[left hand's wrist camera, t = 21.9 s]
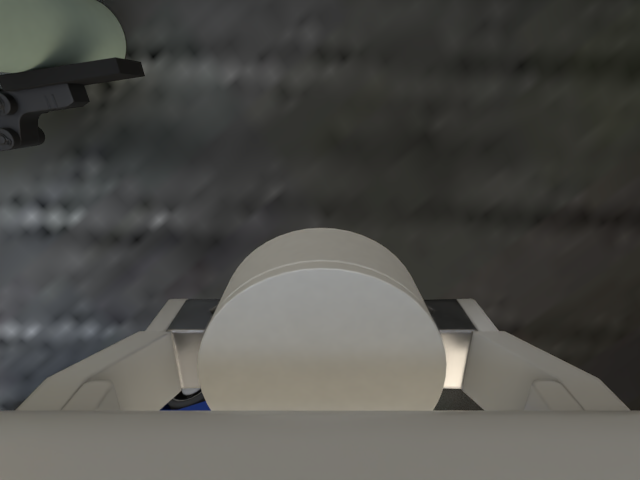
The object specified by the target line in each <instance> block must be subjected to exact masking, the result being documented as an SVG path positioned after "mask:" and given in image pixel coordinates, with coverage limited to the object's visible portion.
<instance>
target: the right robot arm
mask: <svg viewBox="0 0 640 480" xmlns="http://www.w3.org/2000/svg"><path fill="white" fill-rule="evenodd" d="M142 76H145V75H144V72H143V68H142V65H141V62H138V61H132V60H127V59H122V58H117V57H114V58H108V59H101V60H95V61H88V62H82V63H75V64H69V65H63V66H56V67H50V68H43V69H37V70H30V71H24V72H18V73H11V74H5V75H0V84H1V86H2V88H3V89H1V88H0V151H4V150H11V149H17V148H23V147H29V146H35V145H40V144H42V143H43V142H44V140H45V135H44V133H43V131H42V130H41V129H40V128H39V127H38V118H39V116H40V115H41V114H42V113H48V112H49V111H54V110H61V109H67V108H74V107H81V106H84V105H85V104H87V103H88V102H90V101H89V98H88V95H87V93H86V90H85V87H84V85H89V84H96V83H103V82H109V81H116V80H122V79H129V78H136V77H142Z"/></svg>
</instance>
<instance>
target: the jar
mask: <svg viewBox="0 0 640 480" xmlns="http://www.w3.org/2000/svg"><path fill="white" fill-rule="evenodd" d="M125 55H126V40H125V36H124V32H123V30H122V27H121V25H120V23H119V22H118V20H117V18H116V17H115V16H114V14H113V13H112V12H111V11H110V10H109V9H108V8H107V7H106V6H104V5H103V4H102V3H100V2H98V1H97V0H0V72H4V73H18V72H24V71H30V70H37V69H43V68H50V67H56V66H63V65H69V64H75V63H82V62H88V61H95V60H101V59H108V58H114V57H117V58H122V59H125Z"/></svg>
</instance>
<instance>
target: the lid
mask: <svg viewBox="0 0 640 480" xmlns="http://www.w3.org/2000/svg"><path fill="white" fill-rule="evenodd" d="M446 365H447V363H446V353H445V348H444V344H443V341H442V337H441V335H440V333H439V331H438V329H437V327H436V324H435V323H434V321H433V319H432V317H431V315H430V313H429V311H428V309H427V307H426V305H425V303H424V301H423V299H422V297H421V295H420V293H419V291H418V289H417V287H416V285H415V283H414V281H413V279H412V277H411V275H410V274H409V272H408V271H407V269H406V268H405V266H404V265H403V264H402V263H401V261H400V260H399V259H398V258H397V257H396V256H395V255H394V254H393V253H391V252H390V251H389V250H388V249H387V248H385V247H384V246H382V245H380V244H379V243H377V242H376V241H374V240H372V239H369V238H367V237H365V236H363V235H360V234H357V233H353V232H350V231H345V230H340V229H332V228H312V229H303V230H298V231H293V232H290V233H287V234H284V235H281V236H278V237H276V238H274V239H272V240H270V241H268V242H266V243H265V244H263V245H261V246H260V247H258V248H257V249H255V250H254V251H253V252H252V253H251V254H250V255H249V256H247V257H246V258H245V259H244V261H243V262H242V263H241V264H240V265H239V266H238V268H237V269H236V271H235V273H234V274H233V276H232V277H231V279H230V281H229V283H228V286H227V288H226V290H225V292H224V294H223V296H222V298H221V300H220V302H219V304H218V306H217V308H216V310H215V312H214V314H213V316H212V319H211V321H210V323H209V325H208V327H207V329H206V331H205V334H204V336H203V338H202V341H201V345H200V349H199V353H198V365H197V367H198V378H199V383H200V387H201V391H202V394H203V396H204V398H205V400H206V403H207V405H208V406H209V408H210V409H211V411H433V409H434V407H435V406H436V404H437V402H438V400H439V398H440V395H441V393H442V390H443V386H444V382H445V378H446Z"/></svg>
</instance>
